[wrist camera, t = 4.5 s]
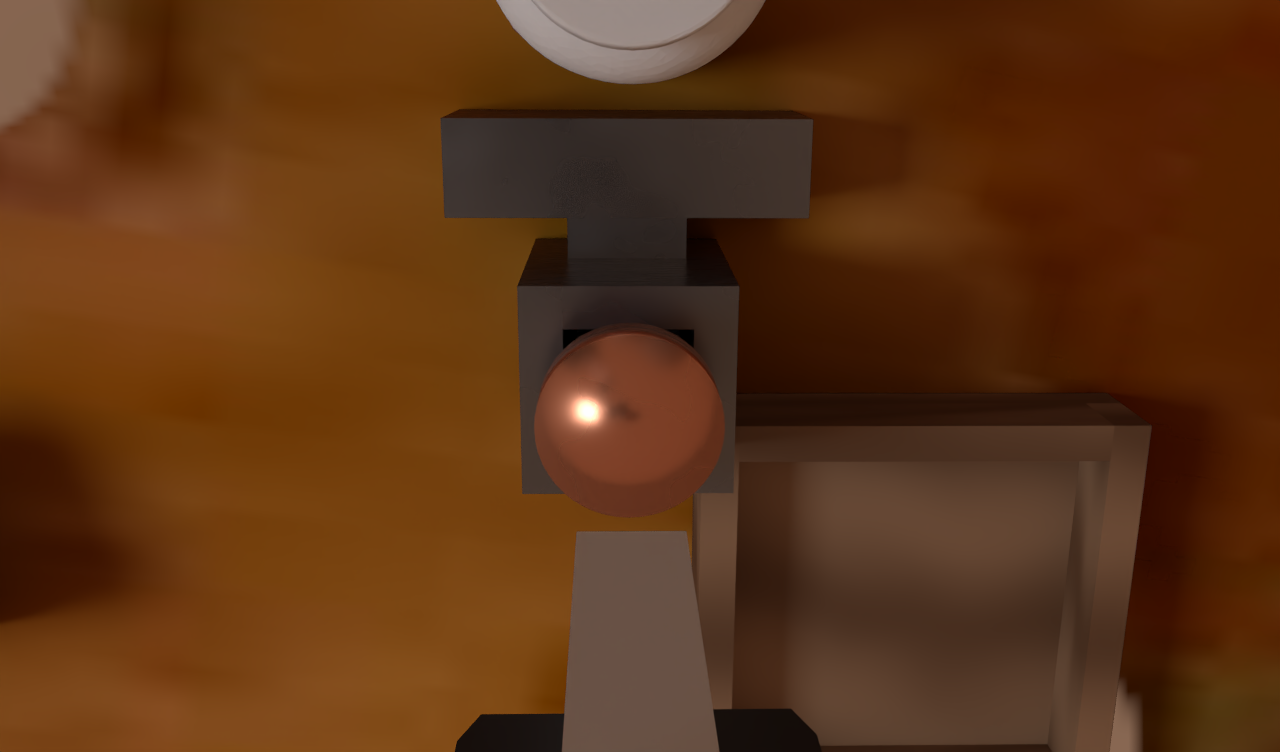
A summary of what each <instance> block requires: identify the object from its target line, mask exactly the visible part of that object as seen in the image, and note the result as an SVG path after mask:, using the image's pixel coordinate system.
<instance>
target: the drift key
mask: <svg viewBox="0 0 1280 752" xmlns="http://www.w3.org/2000/svg"><path fill="white" fill-rule="evenodd" d="M724 432H725V421H724V412H723V407H722V403H721V399H720V396H719V392H718V389H717V386H716V383H715V380H714V377H713V375H712V373H711V371H710V369H709V367H708V366H707V364H706V363H705V361H704V360H703V358H702V357H701V356H700V355H699V354H698V352H697V351H696V350H695V349H694V348H693V347H692V346H690V345H689V344H688V343H687V342H686V341H684V340H683V339H681V338H680V335H679V331H678V329H661V328H658V327H655V326H652V325H647V324H641V323H617V324H612V325H607V326H603V327H600V328H597V329H578V330H577V337H576V340H574V341H573V342H571V343H570V344H569V345H568V346H567V347H566V348H564V349H563V350H562V352H561V353H560V354H559V355H558V356H557V357H556V358H555V360H554V361H553V363H552V364H551V366H550V367H549V369H548V371H547V373H546V375H545V377H544V380H543V383H542V386H541V389H540V393H539V398H538V403H537V408H536V413H535V422H534V433H535V442H536V446H537V451H538V454H539V457H540V459H541V462H542V464H543V466H544V468H545V470H546V471H547V473H548V475H549V476H550V478H551V479H552V480H553V482H554V483H555V484H556V485H557V486H558V487H559V488H560V489H561V490H562V491H563V492H564V493H565V494H566V495H567V496H569V497H570V498H571V499H572V500H574V501H576V502H577V503H579V504H580V505H582V506H584V507H586V508H588V509H591V510H593V511H596V512H599V513H602V514H605V515H611V516H616V517H642V516H647V515H653V514H656V513H659V512H662V511H665V510H668V509H670V508H672V507H674V506H676V505H678V504H680V503H681V502H683V501H684V500H686V499H687V498H689V497H690V496H691V495H692V494H694V493H695V492H696V491H697V490H698V489H699V488H700V487H701V486H702V485H703V484H704V482H705V481H706V480H707V478H708V477H709V476H710V474H711V473H712V471H713V469H714V467H715V465H716V463H717V461H718V459H719V456H720V453H721V450H722V446H723V441H724Z"/></svg>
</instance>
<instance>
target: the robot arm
mask: <svg viewBox="0 0 1280 752" xmlns="http://www.w3.org/2000/svg"><path fill="white" fill-rule="evenodd" d="M455 752H822V750H821V747H820V744H819V740H818V737H817V734H816V733H815V732H814V731H813V730H812V729H811V728H810V727H809V726H808V725H807V724H806V723H805V722H804V721H803V720H802V719H801V718H800V717H799V716H798V715H797V714H796V713H795V712H794V711H793V710H792V709H713V706H712V699H711V692H710V686H709V679H708V673H707V666H706V659H705V653H704V646H703V639H702V633H701V626H700V619H699V613H698V606H697V599H696V593H695V586H694V580H693V573H692V566H691V560H690V553H689V546H688V540H687V533H686V531H619V532H577V535H576V549H575V564H574V579H573V594H572V609H571V624H570V639H569V653H568V668H567V683H566V698H565V713H564V714H481V715H480V716H479V717H478V719H477V720H476V721H475V722H474V723H473V724H472V725H471V726H470V727H469V729H468V730H467V731H466V732H465V733H464V734H463V735H462V736H461V737H460V738H459V740H458V741H457V744H456V749H455Z"/></svg>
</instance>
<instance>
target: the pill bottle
mask: <svg viewBox="0 0 1280 752" xmlns="http://www.w3.org/2000/svg"><path fill="white" fill-rule="evenodd" d="M496 1H497V2H498V4H499V6H500V8H501V10H502V11H503V13H504V14H505V16H506V17H507V19H508V20H509V22H510V23H511V25H512V27H513V29H514V30H515V31H516V32H517V33H518V34H520V35H521V36H522V37H523V38H524V39H525V40H526V41H527V42H528V43H529V44H530V45H531V46H532V47H533V48H534V49H536V50H537V51H538V52H539V53H541V54H542V55H543V56H545V57H546V58H548V59H549V60H551V61H552V62H554V63H556V64H558V65H559V66H561V67H563V68H565V69H567V70H569V71H572V72H575V73H577V74H580V75H583V76H585V77H588V78H592V79H596V80H600V81H604V82H610V83H617V84H643V83H654V82H660V81H665V80H669V79H672V78H676V77H678V76H681V75H684V74H686V73H689V72H691V71H694V70H696V69H698V68H699V67H701V66H703V65H705V64H707V63H708V62H710V61H711V60H713V59H714V58H716V57H717V56H719V55H720V54H721V53H723V52H724V51H725V50H726V49H727V48H729V47H730V46H731V45H732V44H733V43H734V42H735V41H736V40H737V39H738V38H739V37H740V36H741V35H742V34H743V33H744V32H745V31H746V29H747V28H748V27H749V26H750V24H751V23H752V22H753V20H754V18H755V17H756V15H757V14H758V12H759V11H760V9H761V8H762V6H763V4H764V2H765V0H496Z"/></svg>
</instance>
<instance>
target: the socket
mask: <svg viewBox="0 0 1280 752" xmlns="http://www.w3.org/2000/svg"><path fill="white" fill-rule="evenodd" d="M812 136H813V119H811V118H809V117H806V116H804V115H802V114H799V113H797V112H794V111H742V110H464V109H459V110H457V111H455V112H453V113H451V114H448V115H446V116H444V117H442V118H441V138H442V163H443V187H444V212H445V218H567V222H568V239H536V240H535V243H534V245H533V248H532V250H531V253H530V255H529V258H528V261H527V263H526V266H525V268H524V271H523V273H522V276H521V278H520V281H519V283H518V286H517V289H518V330H519V371H520V413H521V454H522V494H565V493H564V492H563V491H562V490H561V489H560V488H559V487H558V486H557V485H556V484H555V483H554V482H553V480H552V479H551V478H550V476H549V475H548V473H547V471H546V470H545V468H544V466H543V464H542V462H541V459H540V457H539V454H538V451H537V446H536V442H535V433H534V422H535V413H536V408H537V403H538V398H539V393H540V389H541V386H542V383H543V380H544V377H545V375H546V373H547V371H548V369H549V367H550V366H551V364H552V363H553V361H554V360H555V358H556V357H557V356H558V355H559V354H560V353H561V352H562V350H563V349H564V348H566V347H567V346H568V345H569V344H570V343H571V342H573V329H597V328H600V327H603V326H607V325H612V324H617V323H641V324H647V325H652V326H655V327H658V328H661V329H679V335H680V338H681V339H683V340H684V341H686V342H687V343H688V344H689V345H690V346H692V347H693V348H694V349H695V350H696V351H697V352H698V354H699V355H700V356H701V357H702V358H703V360H704V361H705V363H706V364H707V366H708V367H709V369H710V371H711V373H712V375H713V377H714V380H715V383H716V386H717V389H718V392H719V396H720V399H721V403H722V407H723V412H724V421H725V432H724V441H723V446H722V450H721V453H720V456H719V459H718V461H717V463H716V465H715V467H714V469H713V471H712V473H711V474H710V476H709V477H708V478H707V480H706V481H705V482H704V484H703V485H702V486H701V487H700V488H699V489H698V490H697V491H696V492H695V493H733V491H734V455H735V420H736V384H737V349H738V314H739V285H738V283H737V281H736V279H735V277H734V275H733V273H732V271H731V269H730V267H729V265H728V262H727V260H726V258H725V256H724V254H723V252H722V250H721V248H720V246H719V244H718V242H717V240H716V239H686V236H687V218H809V204H810V181H811V159H812Z"/></svg>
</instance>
